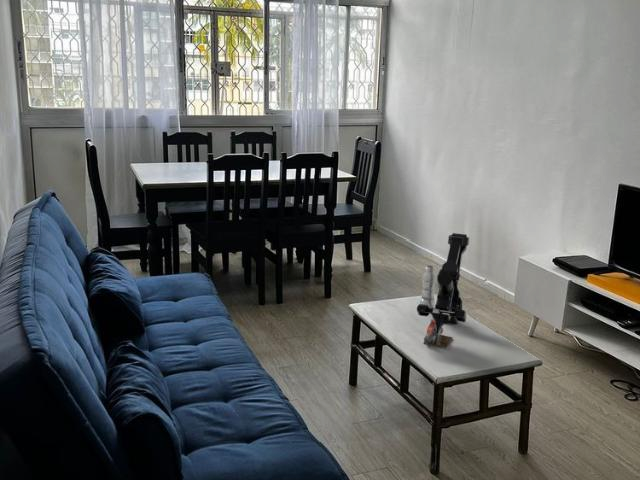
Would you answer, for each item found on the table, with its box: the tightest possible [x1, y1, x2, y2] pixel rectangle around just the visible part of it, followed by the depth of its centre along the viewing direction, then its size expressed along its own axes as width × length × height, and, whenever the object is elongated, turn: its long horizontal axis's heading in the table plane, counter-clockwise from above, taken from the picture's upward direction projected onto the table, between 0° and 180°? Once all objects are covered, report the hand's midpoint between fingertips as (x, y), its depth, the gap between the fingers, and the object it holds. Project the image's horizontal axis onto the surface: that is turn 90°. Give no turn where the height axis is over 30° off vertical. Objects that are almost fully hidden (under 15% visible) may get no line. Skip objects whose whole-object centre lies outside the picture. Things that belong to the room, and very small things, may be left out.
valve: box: [423, 326, 453, 349], centre depth 250 cm, size 12×9×7 cm
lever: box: [426, 316, 436, 335], centre depth 245 cm, size 3×13×2 cm, turn 159°
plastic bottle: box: [419, 264, 437, 309], centre depth 283 cm, size 6×7×20 cm
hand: (437, 333), depth 241 cm, fingers closed
